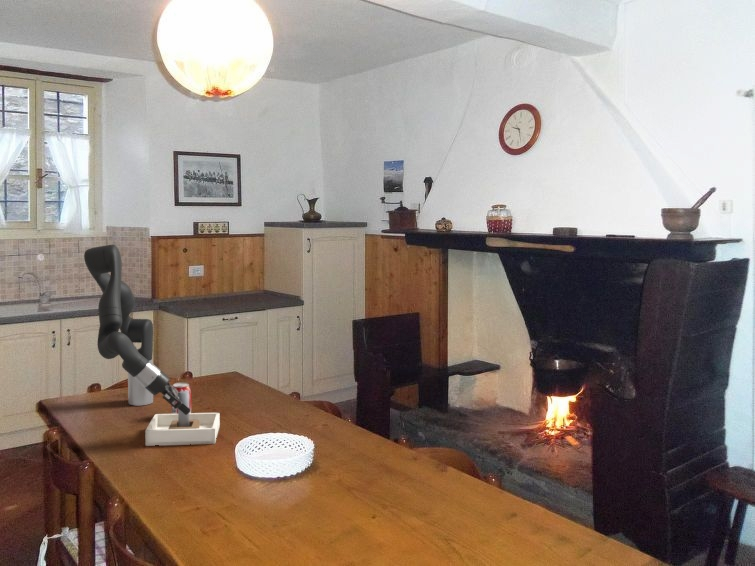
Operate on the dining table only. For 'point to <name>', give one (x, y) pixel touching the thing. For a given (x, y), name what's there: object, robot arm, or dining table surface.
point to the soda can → (180, 388)
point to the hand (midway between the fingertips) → (188, 409)
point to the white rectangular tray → (183, 429)
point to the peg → (182, 418)
